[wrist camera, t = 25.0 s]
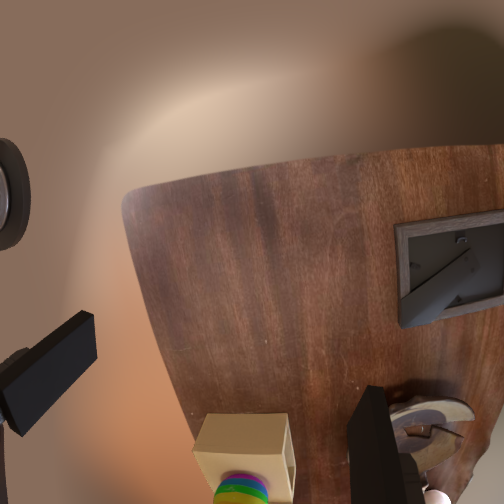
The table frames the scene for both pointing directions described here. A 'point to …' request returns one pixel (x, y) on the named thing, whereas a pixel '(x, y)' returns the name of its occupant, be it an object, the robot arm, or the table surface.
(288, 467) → the tan cardboard box
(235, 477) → the decorative egg
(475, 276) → the picture frame
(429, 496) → the white lidded sugar bowl
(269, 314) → the table surface
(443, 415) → the grey frying pan
